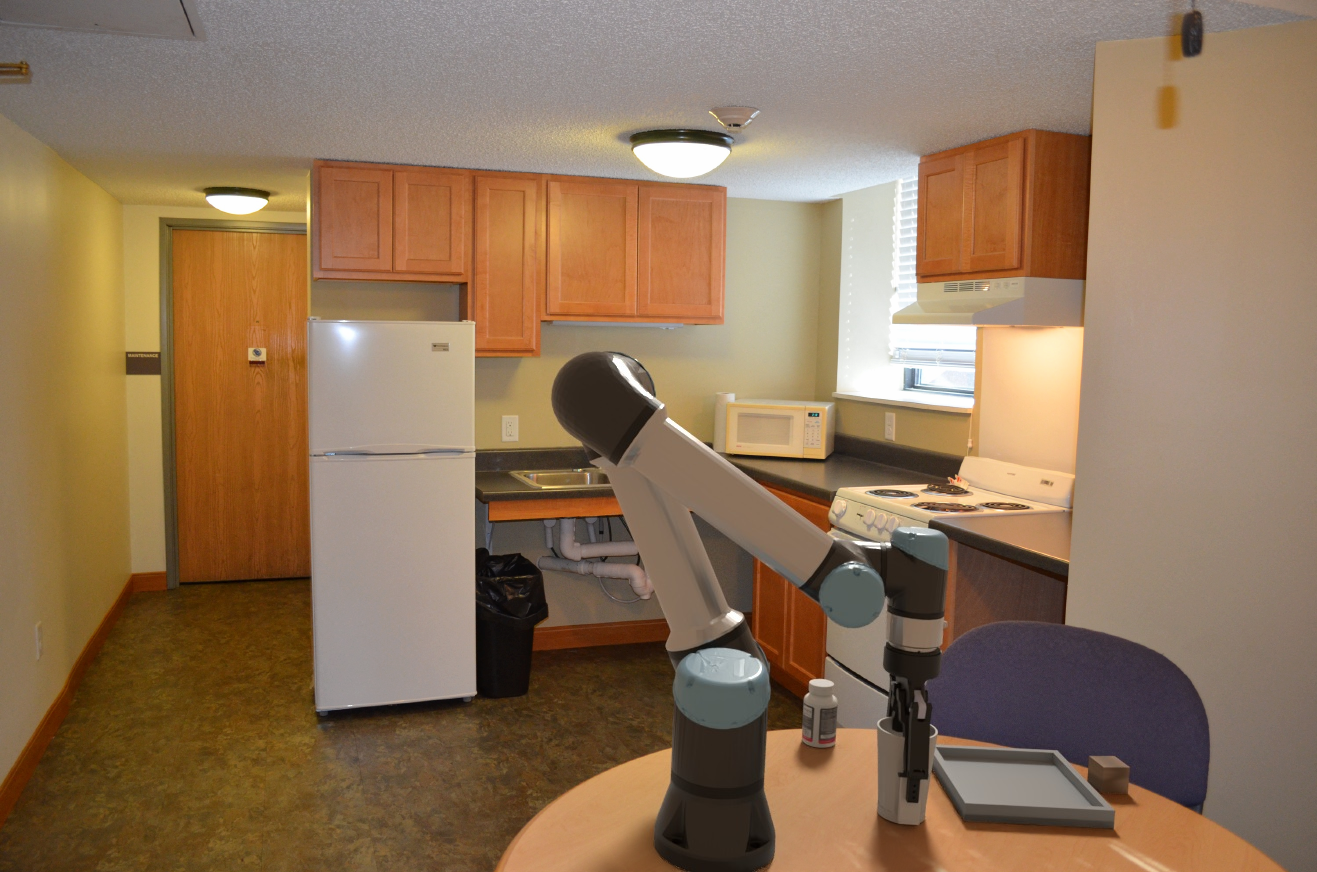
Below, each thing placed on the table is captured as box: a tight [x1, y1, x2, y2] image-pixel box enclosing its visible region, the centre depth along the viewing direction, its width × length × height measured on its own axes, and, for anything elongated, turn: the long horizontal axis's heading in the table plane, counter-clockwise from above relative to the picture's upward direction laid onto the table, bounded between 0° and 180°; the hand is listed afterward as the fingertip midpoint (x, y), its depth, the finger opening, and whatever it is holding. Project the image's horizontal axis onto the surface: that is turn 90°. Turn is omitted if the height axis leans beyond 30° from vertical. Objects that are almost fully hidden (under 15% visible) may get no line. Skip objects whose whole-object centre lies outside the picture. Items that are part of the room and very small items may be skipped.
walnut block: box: [1086, 755, 1131, 794], centre depth 143 cm, size 4×4×4 cm
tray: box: [932, 744, 1116, 829], centre depth 140 cm, size 20×20×2 cm
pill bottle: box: [801, 678, 839, 749], centre depth 155 cm, size 5×5×10 cm
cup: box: [876, 716, 939, 824], centre depth 131 cm, size 8×8×12 cm
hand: (901, 808), depth 131 cm, fingers closed on cup, 7 cm apart
